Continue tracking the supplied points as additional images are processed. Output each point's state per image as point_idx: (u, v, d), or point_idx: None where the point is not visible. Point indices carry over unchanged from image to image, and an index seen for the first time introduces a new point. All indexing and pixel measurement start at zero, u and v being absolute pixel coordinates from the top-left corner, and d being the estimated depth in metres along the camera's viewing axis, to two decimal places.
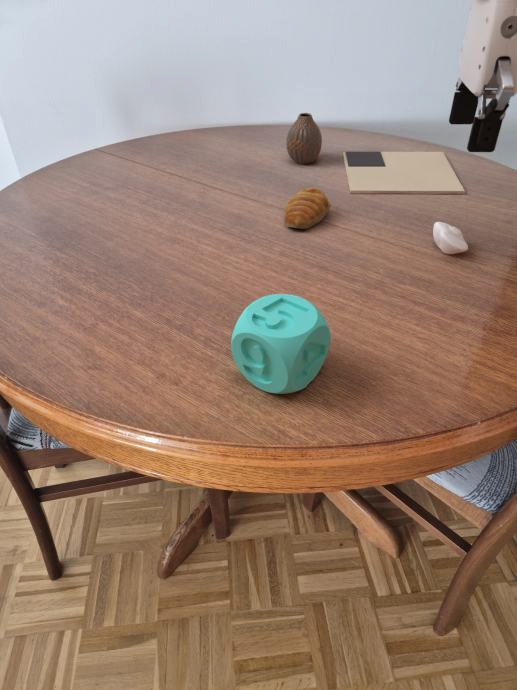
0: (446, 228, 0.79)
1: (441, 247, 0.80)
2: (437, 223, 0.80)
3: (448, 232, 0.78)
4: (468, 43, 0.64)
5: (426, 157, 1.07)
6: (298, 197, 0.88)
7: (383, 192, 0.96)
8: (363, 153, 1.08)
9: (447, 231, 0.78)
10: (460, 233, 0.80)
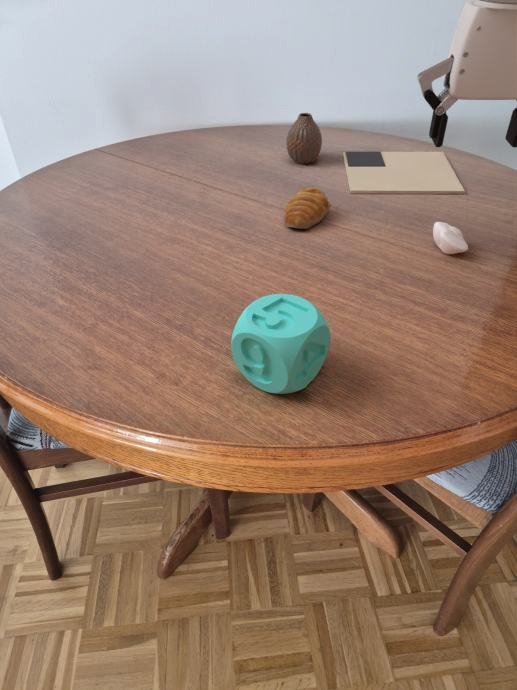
0: (446, 228, 0.79)
1: (441, 247, 0.80)
2: (437, 223, 0.80)
3: (448, 232, 0.78)
4: (494, 59, 0.62)
5: (426, 157, 1.07)
6: (298, 197, 0.88)
7: (383, 192, 0.96)
8: (363, 153, 1.08)
9: (447, 231, 0.78)
10: (460, 233, 0.80)
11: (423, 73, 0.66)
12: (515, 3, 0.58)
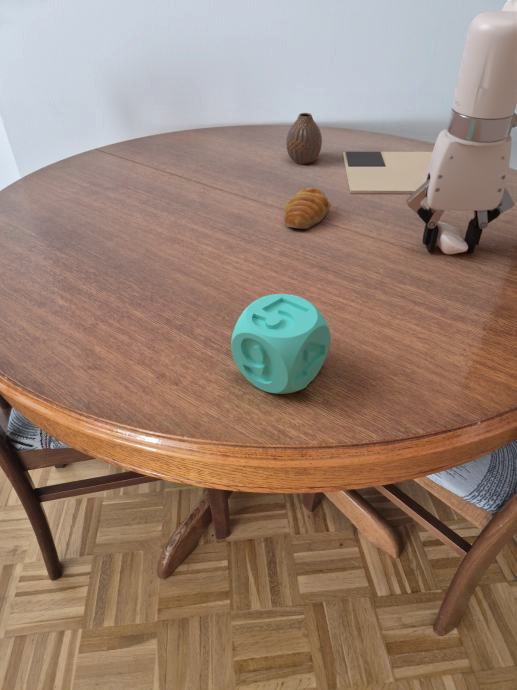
0: (446, 228, 0.79)
1: (441, 247, 0.80)
2: (437, 223, 0.80)
3: (448, 232, 0.78)
4: (465, 181, 0.72)
5: (426, 157, 1.07)
6: (298, 197, 0.88)
7: (383, 192, 0.96)
8: (363, 153, 1.08)
9: (447, 231, 0.78)
10: (460, 233, 0.80)
11: (410, 199, 0.76)
12: (481, 141, 0.67)
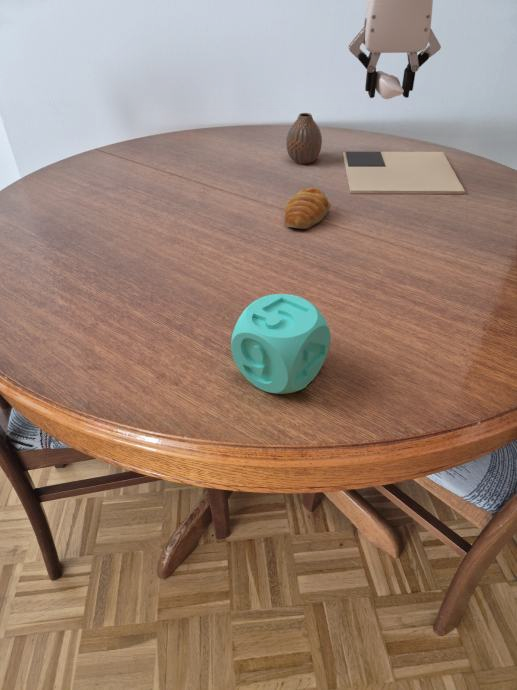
0: (384, 74, 0.90)
1: (380, 92, 0.91)
2: (377, 71, 0.91)
3: (385, 76, 0.90)
4: (395, 20, 0.84)
5: (426, 157, 1.07)
6: (298, 197, 0.88)
7: (383, 192, 0.96)
8: (363, 153, 1.08)
9: (385, 75, 0.90)
10: (397, 79, 0.91)
11: (350, 44, 0.88)
12: None
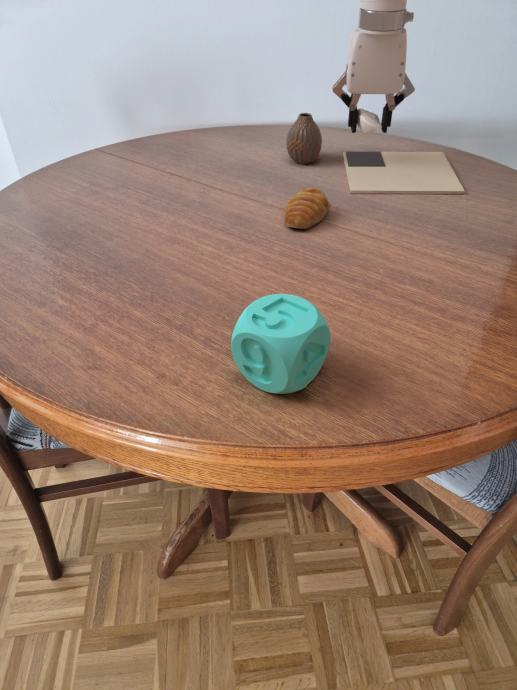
0: (364, 111, 1.00)
1: (361, 128, 1.01)
2: (358, 109, 1.01)
3: (365, 114, 1.00)
4: (372, 67, 0.94)
5: (426, 157, 1.07)
6: (298, 197, 0.88)
7: (383, 192, 0.96)
8: (363, 153, 1.08)
9: (365, 113, 1.00)
10: (376, 116, 1.01)
11: (334, 86, 0.98)
12: (380, 30, 0.89)
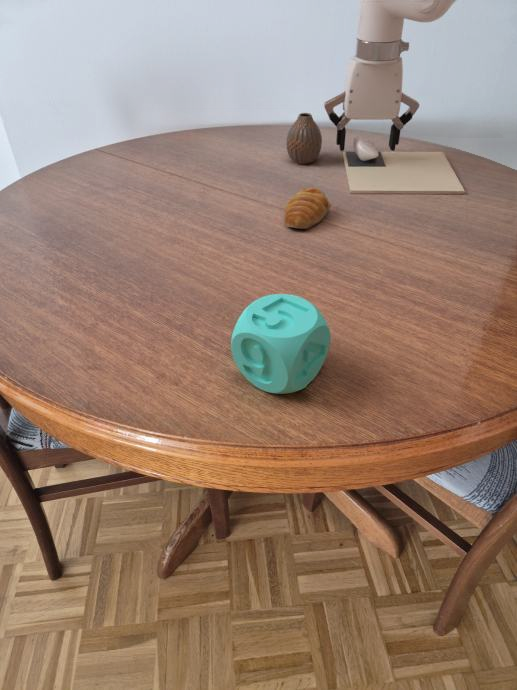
0: (361, 139, 1.04)
1: (358, 155, 1.05)
2: (356, 137, 1.05)
3: (362, 142, 1.03)
4: (369, 94, 0.96)
5: (426, 157, 1.07)
6: (298, 197, 0.88)
7: (383, 192, 0.96)
8: None
9: (362, 141, 1.03)
10: (373, 144, 1.04)
11: (327, 102, 1.00)
12: (376, 60, 0.92)
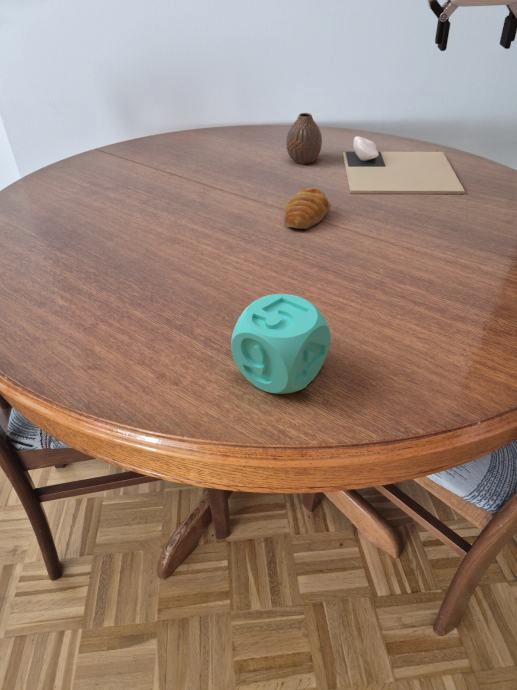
0: (361, 139, 1.04)
1: (358, 155, 1.05)
2: (356, 137, 1.05)
3: (362, 142, 1.03)
4: None
5: (426, 157, 1.07)
6: (298, 197, 0.88)
7: (383, 192, 0.96)
8: None
9: (362, 141, 1.03)
10: (373, 144, 1.04)
11: None
12: None
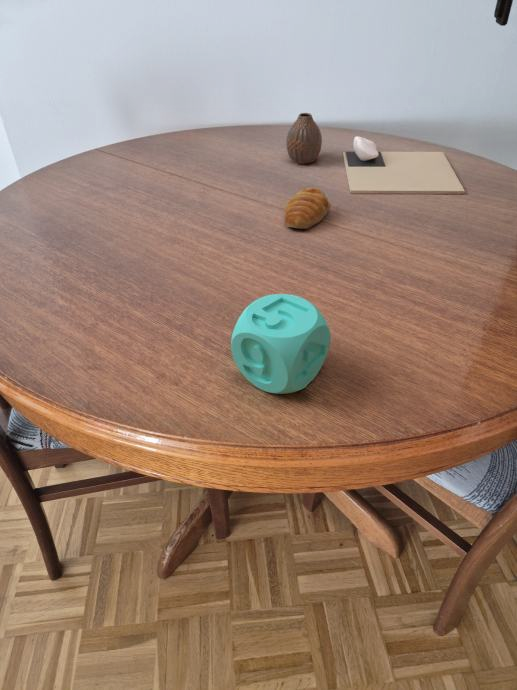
0: (361, 139, 1.04)
1: (358, 155, 1.05)
2: (356, 137, 1.05)
3: (362, 142, 1.03)
4: None
5: (426, 157, 1.07)
6: (298, 197, 0.88)
7: (383, 192, 0.96)
8: None
9: (362, 141, 1.03)
10: (373, 144, 1.04)
11: None
12: None
